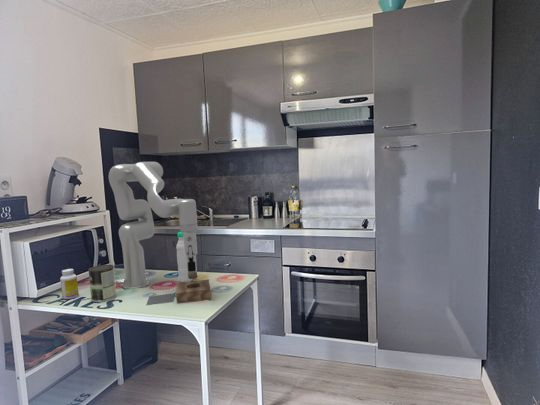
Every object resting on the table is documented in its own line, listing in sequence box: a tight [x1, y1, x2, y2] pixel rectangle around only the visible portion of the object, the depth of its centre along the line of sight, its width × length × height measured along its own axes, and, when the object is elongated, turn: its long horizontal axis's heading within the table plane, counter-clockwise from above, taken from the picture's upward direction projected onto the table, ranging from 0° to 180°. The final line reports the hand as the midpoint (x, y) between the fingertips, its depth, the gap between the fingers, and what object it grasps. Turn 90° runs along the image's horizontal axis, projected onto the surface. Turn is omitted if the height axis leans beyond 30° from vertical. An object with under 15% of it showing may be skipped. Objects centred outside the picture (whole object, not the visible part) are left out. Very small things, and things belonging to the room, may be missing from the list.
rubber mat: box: [145, 292, 176, 306], centre depth 152 cm, size 11×11×1 cm
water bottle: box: [175, 231, 194, 283], centre depth 177 cm, size 7×7×25 cm
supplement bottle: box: [59, 268, 80, 300], centre depth 162 cm, size 7×7×13 cm
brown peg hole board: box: [175, 278, 212, 305], centre depth 154 cm, size 14×14×5 cm
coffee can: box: [87, 264, 117, 303], centre depth 159 cm, size 10×10×14 cm
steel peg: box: [186, 253, 198, 280], centre depth 152 cm, size 4×4×12 cm
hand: (192, 269), depth 153 cm, fingers closed on steel peg, 4 cm apart
